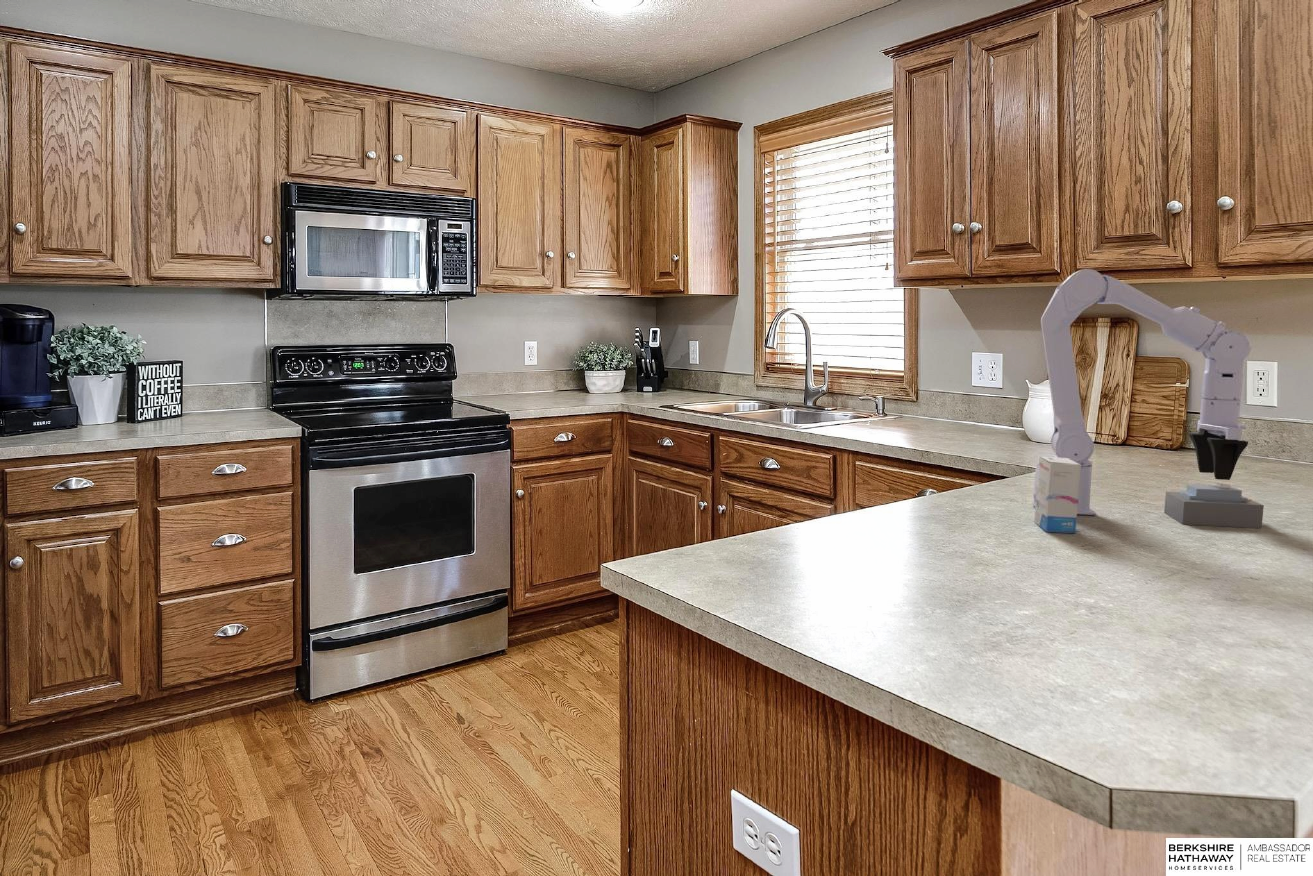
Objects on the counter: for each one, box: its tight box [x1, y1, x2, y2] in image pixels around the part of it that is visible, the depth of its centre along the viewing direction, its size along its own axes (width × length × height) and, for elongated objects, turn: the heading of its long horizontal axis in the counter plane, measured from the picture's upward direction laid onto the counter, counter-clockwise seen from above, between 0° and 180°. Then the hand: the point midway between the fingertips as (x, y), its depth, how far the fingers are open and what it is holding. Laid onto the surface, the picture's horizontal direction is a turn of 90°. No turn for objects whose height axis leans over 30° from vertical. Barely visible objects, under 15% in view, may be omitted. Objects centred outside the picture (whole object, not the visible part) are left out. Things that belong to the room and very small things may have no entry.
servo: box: [1179, 483, 1248, 502], centre depth 150 cm, size 9×4×7 cm, turn 77°
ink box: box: [1033, 456, 1081, 534], centre depth 144 cm, size 8×5×12 cm, turn 168°
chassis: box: [1163, 490, 1264, 529], centre depth 150 cm, size 12×10×4 cm
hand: (1214, 475), depth 150 cm, fingers open, 7 cm apart
